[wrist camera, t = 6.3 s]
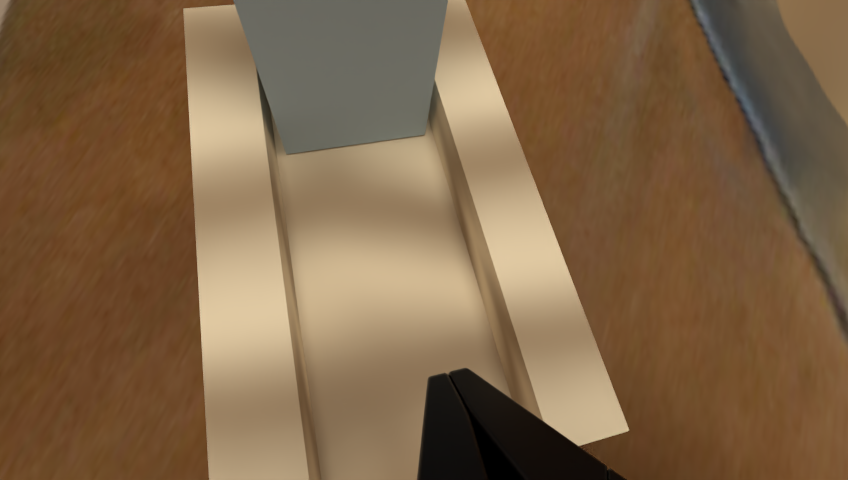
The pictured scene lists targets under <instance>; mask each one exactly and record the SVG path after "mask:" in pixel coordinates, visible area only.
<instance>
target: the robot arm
mask: <svg viewBox="0 0 848 480" xmlns="http://www.w3.org/2000/svg"><path fill="white" fill-rule="evenodd" d="M417 480H626V479H625V478H623V477H622V476H620V475H619V474H618V473H616V472H615V471H613V470H612V469H608V471H607V466H606V465H605V464H603V463H602V462H600V461H599V460H598V459H596V458H595V457H593V456H592V455H590V454H589V453H588V452H586V451H585V450H583V449H582V448H581V447H579V446H578V445H576V444H575V443H573V442H572V441H571V440H569V439H568V438H566V437H565V436H564V435H562V434H561V433H559V432H558V431H556V430H555V429H554V428H552V427H551V426H549V425H548V424H547V423H545V422H544V421H542V420H541V419H539V418H538V417H537V416H535V415H534V414H532V413H531V412H530V411H528V410H527V409H525V408H524V407H523V406H521V405H520V404H518V403H517V402H515V401H514V400H513V399H511V398H510V397H508V396H507V395H506V394H504V393H503V392H501V391H500V390H498V389H497V388H496V387H494V386H493V385H491V384H490V383H489V382H487V381H486V380H484V379H483V378H481V377H480V376H479V375H477V374H476V373H474V372H473V371H472V370H470V369H469V368H461V369H457V370H453V371H450V372H449V373H448V374H447V373H440V374H436V375H432V376H429V377H428V380H427V389H426V398H425V408H424V417H423V427H422V436H421V446H420V455H419V464H418V474H417Z"/></svg>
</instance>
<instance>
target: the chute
mask: <svg viewBox="0 0 848 480" xmlns="http://www.w3.org/2000/svg"><path fill="white" fill-rule="evenodd" d="M183 10H184V29H185V47H186V65H187V84H188V102H189V120H190V139H191V157H192V175H193V194H194V212H195V230H196V249H197V267H198V285H199V304H200V322H201V340H202V359H203V377H204V395H205V414H206V432H207V450H208V469H209V480H417V474H418V464H419V455H420V446H421V436H422V427H423V417H424V408H425V398H426V389H427V380H428V377H429V376H432V375H436V374H440V373H447V374H448V373H449V372H450V371H453V370H457V369H461V368H469V369H470V370H472V371H473V372H474V373H476V374H477V375H479V376H480V377H481V378H483V379H484V380H486V381H487V382H489V383H490V384H491V385H493V386H494V387H496V388H497V389H498V390H500V391H501V392H503V393H504V394H506V395H507V396H508V397H510V398H511V399H513V400H514V401H515V402H517V403H518V404H520V405H521V406H523V407H524V408H525V409H527V410H528V411H530V412H531V413H532V414H534V415H535V416H537V417H538V418H539V419H541V420H542V421H544V422H545V423H547V424H548V425H549V426H551V427H552V428H554V429H555V430H556V431H558V432H559V433H561V434H562V435H564V436H565V437H566V438H568V439H569V440H571V441H572V442H573V443H575V444H576V445H578V446H580V445H584V444H587V443H590V442H594V441H597V440H600V439H604V438H607V437H610V436H614V435H617V434H620V433H624V432H627V431H629V428H628V426H627V423H626V421H625V418H624V415H623V413H622V410H621V407H620V405H619V402H618V400H617V397H616V394H615V392H614V389H613V386H612V384H611V381H610V379H609V376H608V373H607V371H606V368H605V366H604V363H603V360H602V358H601V355H600V352H599V350H598V347H597V345H596V342H595V339H594V337H593V334H592V331H591V329H590V326H589V324H588V321H587V318H586V316H585V313H584V310H583V308H582V305H581V303H580V300H579V297H578V295H577V292H576V289H575V287H574V284H573V282H572V279H571V276H570V274H569V271H568V268H567V266H566V263H565V261H564V258H563V255H562V253H561V250H560V248H559V245H558V242H557V240H556V237H555V234H554V232H553V229H552V227H551V224H550V221H549V219H548V216H547V213H546V211H545V208H544V206H543V203H542V200H541V198H540V195H539V192H538V190H537V187H536V185H535V182H534V179H533V177H532V174H531V171H530V169H529V166H528V164H527V161H526V158H525V156H524V153H523V150H522V148H521V145H520V143H519V140H518V137H517V135H516V132H515V130H514V127H513V124H512V122H511V119H510V116H509V114H508V111H507V109H506V106H505V103H504V101H503V98H502V95H501V93H500V90H499V88H498V85H497V82H496V80H495V77H494V74H493V72H492V69H491V67H490V64H489V61H488V59H487V56H486V53H485V51H484V48H483V46H482V43H481V40H480V38H479V35H478V32H477V30H476V27H475V25H474V22H473V19H472V17H471V14H470V12H469V9H468V6H467V4H466V1H465V0H448V4H447V10H446V15H445V21H444V27H443V33H442V38H441V44H440V50H439V56H438V62H437V67H436V73H435V79H434V85H433V90H432V96H431V102H430V108H429V114H428V119H427V125H426V131H425V135H419V136H412V137H405V138H398V139H391V140H384V141H377V142H370V143H362V144H355V145H348V146H341V147H334V148H327V149H320V150H313V151H306V152H298V153H291V154H286V152H285V149H284V146H283V143H282V141H281V138H280V135H279V132H278V129H277V126H276V123H275V120H274V117H273V114H272V111H271V109H270V106H269V103H268V100H267V97H266V94H265V91H264V88H263V85H262V82H261V79H260V77H259V74H258V71H257V68H256V65H255V62H254V59H253V56H252V53H251V50H250V47H249V45H248V42H247V39H246V36H245V33H244V30H243V27H242V24H241V21H240V18H239V15H238V13H237V10H236V7H235V5H225V6H212V7H199V8H185V9H183Z"/></svg>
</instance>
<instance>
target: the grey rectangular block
mask: <svg viewBox="0 0 848 480" xmlns="http://www.w3.org/2000/svg"><path fill="white" fill-rule="evenodd" d="M233 1H234V4H235V7H236V10H237V13H238V15H239V18H240V21H241V24H242V27H243V30H244V33H245V36H246V39H247V42H248V45H249V47H250V50H251V53H252V56H253V59H254V62H255V65H256V68H257V71H258V74H259V77H260V79H261V82H262V85H263V88H264V91H265V94H266V97H267V100H268V103H269V106H270V109H271V111H272V114H273V117H274V120H275V123H276V126H277V129H278V132H279V135H280V138H281V141H282V143H283V146H284V149H285V152H286V154H291V153H298V152H306V151H313V150H320V149H327V148H334V147H341V146H348V145H355V144H362V143H370V142H377V141H384V140H391V139H398V138H405V137H412V136H419V135H425V131H426V125H427V119H428V114H429V108H430V102H431V96H432V90H433V85H434V79H435V73H436V67H437V62H438V56H439V50H440V44H441V38H442V33H443V27H444V21H445V15H446V10H447V4H448V0H233Z"/></svg>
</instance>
